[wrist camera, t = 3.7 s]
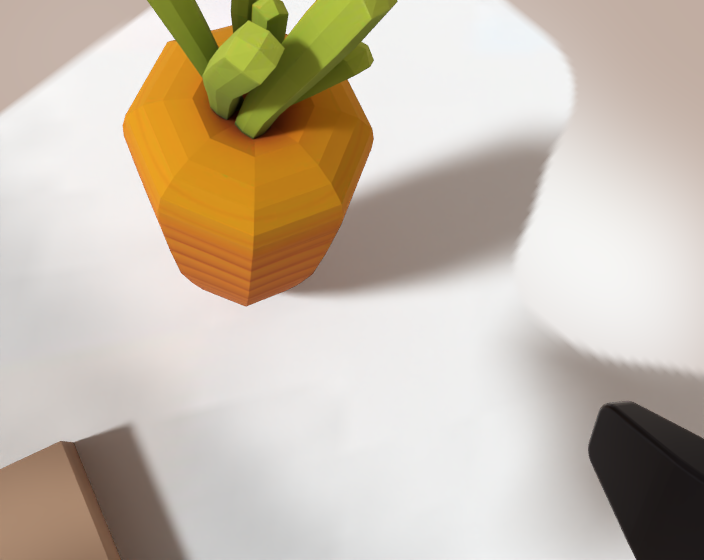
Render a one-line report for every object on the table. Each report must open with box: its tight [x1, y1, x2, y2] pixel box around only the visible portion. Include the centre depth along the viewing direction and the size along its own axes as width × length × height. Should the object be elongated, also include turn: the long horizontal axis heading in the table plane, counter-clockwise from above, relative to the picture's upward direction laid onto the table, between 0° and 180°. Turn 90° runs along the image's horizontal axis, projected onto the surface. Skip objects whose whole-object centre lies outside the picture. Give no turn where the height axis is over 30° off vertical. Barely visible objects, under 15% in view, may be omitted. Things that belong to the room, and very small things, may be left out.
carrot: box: [123, 0, 397, 306], centre depth 15 cm, size 5×5×15 cm
